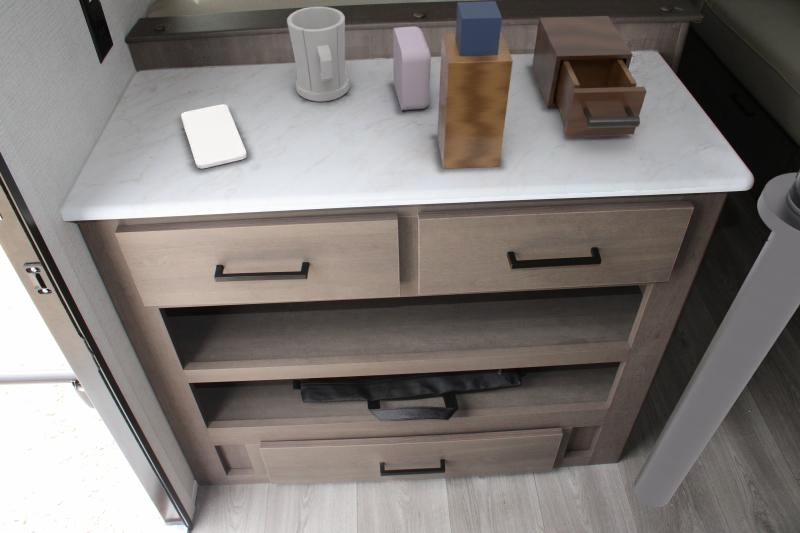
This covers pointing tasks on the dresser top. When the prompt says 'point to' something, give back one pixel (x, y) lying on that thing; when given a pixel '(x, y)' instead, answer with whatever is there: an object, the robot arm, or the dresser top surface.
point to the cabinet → (573, 47)
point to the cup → (319, 52)
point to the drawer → (598, 97)
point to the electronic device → (411, 68)
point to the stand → (472, 105)
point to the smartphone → (213, 136)
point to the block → (478, 28)
